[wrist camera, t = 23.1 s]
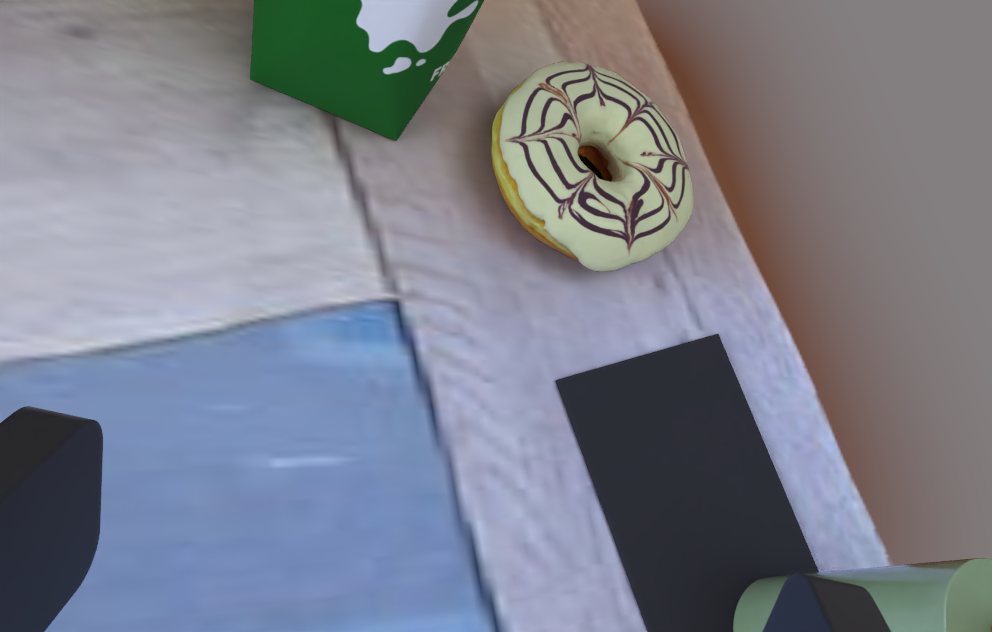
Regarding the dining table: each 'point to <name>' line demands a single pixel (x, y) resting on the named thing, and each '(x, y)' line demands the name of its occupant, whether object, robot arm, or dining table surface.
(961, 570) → the spatula crock
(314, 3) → the milk carton
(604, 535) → the dining table surface
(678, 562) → the mat
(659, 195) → the decorated donut
